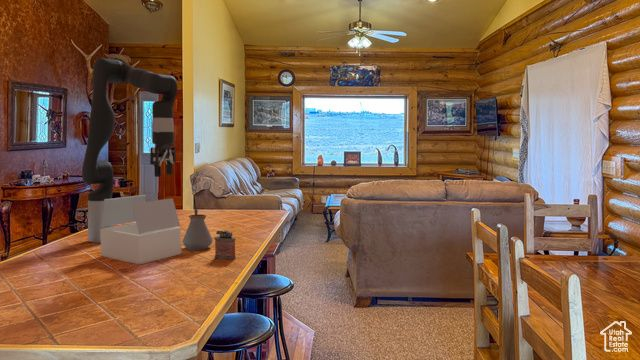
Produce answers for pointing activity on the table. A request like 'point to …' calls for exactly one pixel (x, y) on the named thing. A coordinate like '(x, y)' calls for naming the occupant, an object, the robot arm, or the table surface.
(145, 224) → the flap
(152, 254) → the carton
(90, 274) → the table surface
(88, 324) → the table surface
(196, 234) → the coffee pot
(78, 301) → the table surface
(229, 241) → the lighter
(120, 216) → the flap
